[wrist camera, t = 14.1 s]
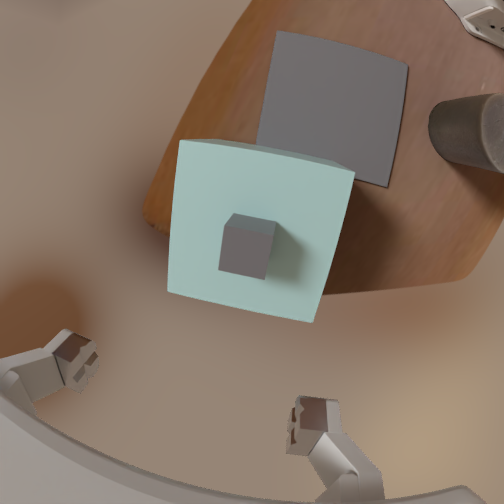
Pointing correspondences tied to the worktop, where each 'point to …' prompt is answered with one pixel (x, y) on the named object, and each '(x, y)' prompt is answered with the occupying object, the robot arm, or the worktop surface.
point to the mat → (334, 104)
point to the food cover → (255, 226)
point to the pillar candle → (470, 131)
